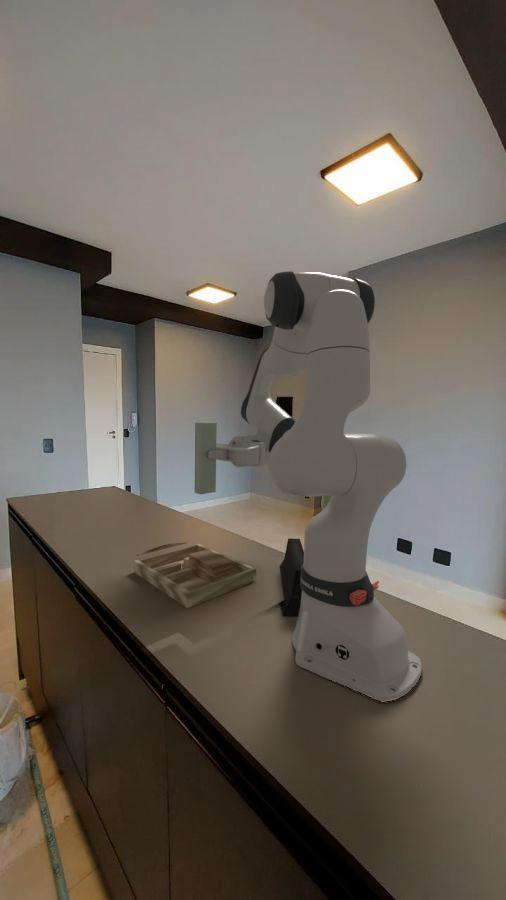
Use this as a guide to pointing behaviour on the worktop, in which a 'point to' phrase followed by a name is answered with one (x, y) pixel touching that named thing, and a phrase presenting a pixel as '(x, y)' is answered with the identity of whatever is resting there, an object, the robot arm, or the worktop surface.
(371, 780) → the worktop surface
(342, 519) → the robot arm
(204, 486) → the sage green plank
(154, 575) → the beige wooden tray
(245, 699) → the worktop surface
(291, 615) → the barrier
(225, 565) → the offcut stack
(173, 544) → the wooden fragment
